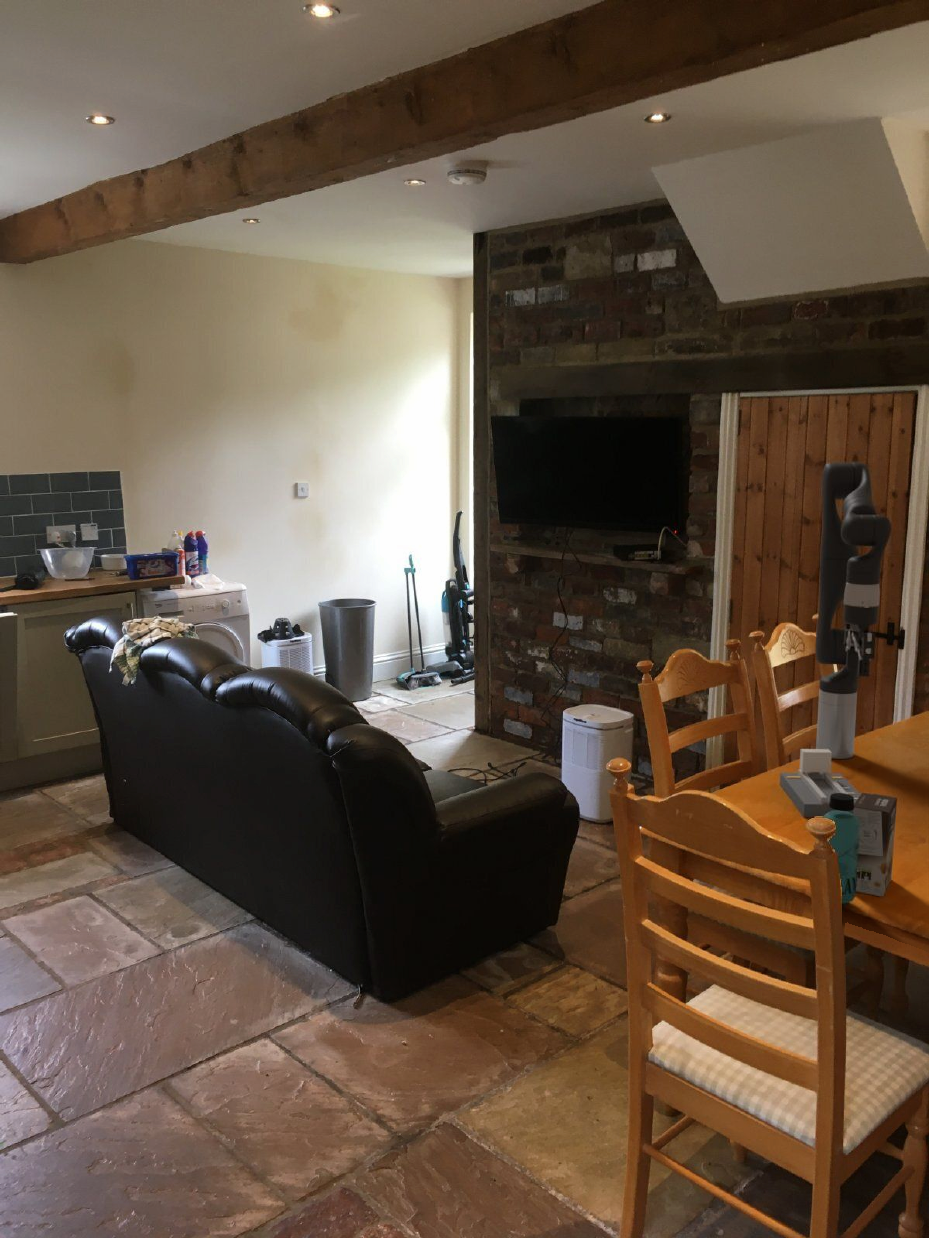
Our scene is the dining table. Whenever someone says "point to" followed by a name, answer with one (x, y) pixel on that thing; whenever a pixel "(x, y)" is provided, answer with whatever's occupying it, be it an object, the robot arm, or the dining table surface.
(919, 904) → the dining table surface
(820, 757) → the fader
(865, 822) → the coffee box
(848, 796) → the beverage bottle
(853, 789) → the console
